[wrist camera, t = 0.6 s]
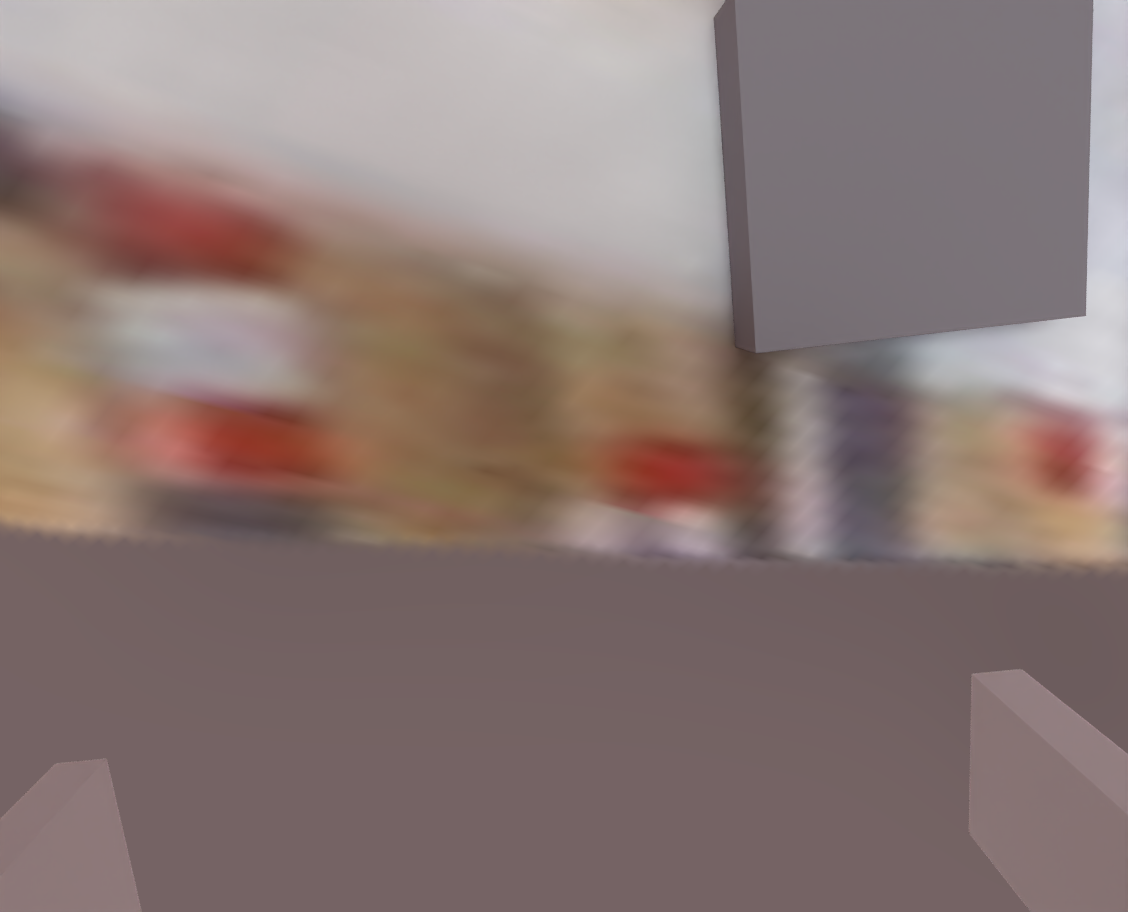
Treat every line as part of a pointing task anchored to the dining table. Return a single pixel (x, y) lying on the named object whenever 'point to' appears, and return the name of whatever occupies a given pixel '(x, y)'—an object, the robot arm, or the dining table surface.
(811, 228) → the block
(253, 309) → the dining table surface
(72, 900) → the robot arm
